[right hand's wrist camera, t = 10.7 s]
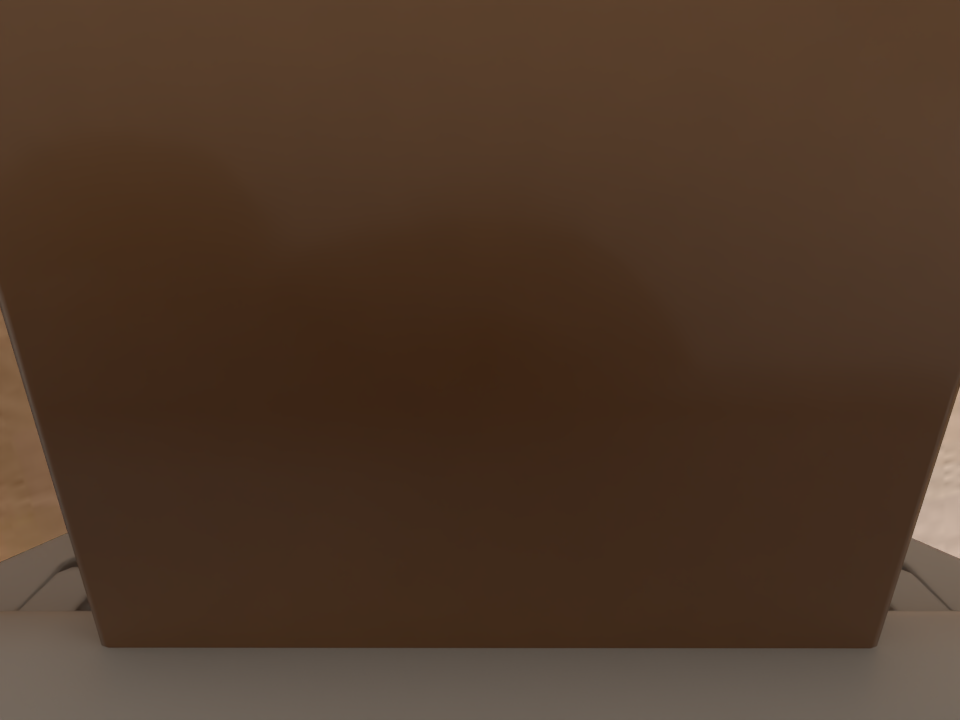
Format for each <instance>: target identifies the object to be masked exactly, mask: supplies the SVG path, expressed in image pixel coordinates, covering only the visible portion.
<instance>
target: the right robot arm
mask: <svg viewBox="0 0 960 720" xmlns="http://www.w3.org/2000/svg"><path fill="white" fill-rule="evenodd" d="M0 720H960V559H959V558H956V557H954V556H952V555H950V554H947V553H945V552H943V551H940V550H938V549H936V548H933V547H931V546H929V545H927V544H924V543H922V542H920V541H917V540H915V539H913V538H911V541H910V544H909V547H908V550H907V553H906V556H905V560H904V563H903V566H902V569H901V572H900V575H899V578H898V582H897V585H896V588H895V591H894V594H893V597H892V600H891V603H890V607H889V610H888V613H887V616H886V619H885V622H884V625H883V629H882V632H881V635H880V638H879V641H878V644H877V646H876V647H873V648H108V647H105V646H102V645H101V642H100V638H99V635H98V632H97V628H96V625H95V622H94V618H93V615H92V612H91V608H90V605H89V601H88V598H87V595H86V591H85V588H84V585H83V581H82V578H81V575H80V571H79V568H78V565H77V561H76V558H75V555H74V551H73V548H72V545H71V541H70V538H69V535H68V533H66V534H64V535H61V536H59V537H57V538H55V539H52V540H50V541H48V542H45V543H43V544H41V545H39V546H36V547H34V548H32V549H29V550H27V551H25V552H23V553H20V554H18V555H16V556H13V557H11V558H9V559H7V560H4V561H2V562H0Z"/></svg>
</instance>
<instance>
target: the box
mask: <svg viewBox="0 0 960 720" xmlns="http://www.w3.org/2000/svg"><path fill="white" fill-rule="evenodd" d="M0 307H1V311H2V314H3V317H4V321H5V324H6V327H7V331H8V334H9V337H10V341H11V344H12V348H13V351H14V354H15V358H16V361H17V364H18V368H19V371H20V374H21V378H22V381H23V384H24V388H25V391H26V394H27V398H28V401H29V404H30V408H31V411H32V414H33V418H34V421H35V424H36V428H37V431H38V434H39V438H40V441H41V444H42V448H43V451H44V454H45V458H46V461H47V464H48V468H49V471H50V475H51V478H52V481H53V485H54V488H55V491H56V495H57V498H58V501H59V505H60V508H61V511H62V515H63V518H64V521H65V525H66V528H67V531H68V535H69V538H70V541H71V545H72V548H73V551H74V555H75V558H76V561H77V565H78V568H79V571H80V575H81V578H82V581H83V585H84V588H85V591H86V595H87V598H88V601H89V605H90V608H91V612H92V615H93V618H94V622H95V625H96V628H97V632H98V635H99V638H100V642H101V645H102V646H105V647H108V648H873V647H876V646H877V644H878V641H879V638H880V635H881V632H882V629H883V625H884V622H885V619H886V616H887V613H888V610H889V607H890V603H891V600H892V597H893V594H894V591H895V588H896V585H897V582H898V578H899V575H900V572H901V569H902V566H903V563H904V560H905V556H906V553H907V550H908V547H909V544H910V541H911V538H912V535H913V531H914V528H915V525H916V522H917V519H918V516H919V513H920V509H921V506H922V503H923V500H924V497H925V494H926V491H927V487H928V484H929V481H930V478H931V475H932V472H933V469H934V466H935V462H936V459H937V456H938V453H939V450H940V447H941V444H942V440H943V437H944V434H945V431H946V428H947V425H948V422H949V418H950V415H951V412H952V409H953V406H954V403H955V400H956V397H957V393H958V390H959V387H960V0H0Z"/></svg>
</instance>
